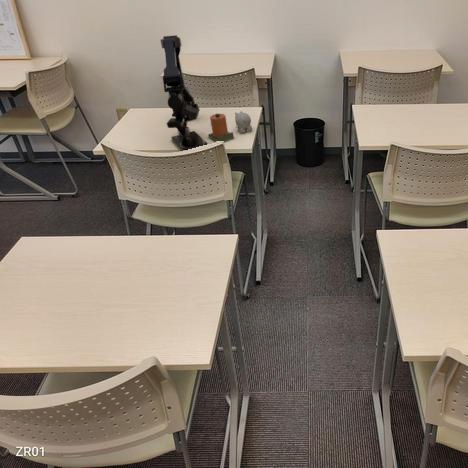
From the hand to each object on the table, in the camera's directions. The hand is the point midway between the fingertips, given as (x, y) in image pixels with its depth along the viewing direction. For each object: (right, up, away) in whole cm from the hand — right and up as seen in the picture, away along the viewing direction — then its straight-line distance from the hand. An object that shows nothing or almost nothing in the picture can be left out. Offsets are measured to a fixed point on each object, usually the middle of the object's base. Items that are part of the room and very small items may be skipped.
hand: (184, 134), depth 218 cm
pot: (+16, 0, 0) cm, 16 cm away
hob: (+3, -5, -2) cm, 6 cm away
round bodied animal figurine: (+25, +4, +9) cm, 27 cm away
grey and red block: (0, 0, 0) cm, 0 cm away
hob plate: (+5, -5, -7) cm, 10 cm away
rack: (+17, -1, +1) cm, 17 cm away
